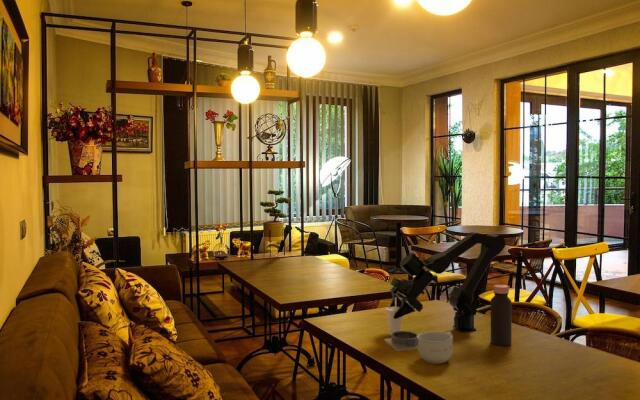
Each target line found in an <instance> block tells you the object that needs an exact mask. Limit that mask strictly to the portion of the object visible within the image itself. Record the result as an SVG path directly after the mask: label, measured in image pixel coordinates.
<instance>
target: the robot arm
mask: <svg viewBox="0 0 640 400" xmlns="http://www.w3.org/2000/svg"><path fill="white" fill-rule="evenodd" d="M478 244H480V253H479V255H478V257H477V258H476V260H475V262H474V264H472V267H471V268H470V270H469V272H468V274H466V275H467V276H466V277H465V279H464V281H463V282H462V284H461V285H459V286H453V288H452V290H451V291H450V293H449V294H448V295H449V298H448V302H449V305H450V306H451V307H452V309H453V311H455V312H454V317H453V325H452V327H453V329H455V330H456V331H457V330H458V331H460V332H463V333H464V332H471V331H477V328H475V316H476V315H477V312H478V309H477V308H476V307H475V306H474V305H473V301H474V292H475V289H477V286H478V284H479V283H480V281H481V280H482V278H483V276H484V274H485V272H486V271H487V269H488V267H489V265H490V264H491V262H492V260H493V259H494V258H496V257H497V256H499V254H501V253H502V251H503V250H504V249H505V247H506V246H507V245H506V239H505V238H504V237H503V236H502V235H500V234H499V235H498V234H493V233H488V234H481V233H479V232H476V231H470V232H469V233H468V234H467V235H466V236H464V237H463V238H461V239H460V240H459V241H457V242H456V243H455V244H453V245H451V246H450V247H448V248H447V249H446V250H443V251H441V252H438V253H435V254H433V255H430V256H428V258H427V259H422V260H421V259H420V258H419V257H418V256H417V254H415V253H414V252H410V254H408V255H406V256H405V257H403V258H402V259H401V261H400V262H399V266H400V267H401V268H402V269H403V270H404V271H405V272H406V273H407V274H408V275H409V276H410V277H413V276H414V277H413V278H412V280H410V279H408V280H407V279H405V278H402V279H399V278H398V277H395V276H394V277H393V278H392V279H391V283H390V286H392V287H391V289H390V292H391V295H392V300H391V302H390V305H389V307H395V297H397V307H400V308H399V309H398V310H397V312H396V313H395V315H394V316H393V318H394V319H397V318H399V317H403V316H407V315H409V314H411V313H415V312H418V313H421V311H422V310H423V308H424V307H423V306H424V304H423V303H421V301H419V300H418V298H419V297H420V295H425V290H426V289H427V288H428V286H429V285H430V284H431V283H434V284H439V279H438V278H439V277H438V275H439V274H440V275H441V274H443V273H444V272H445V271H446V270H447V269H449V267H451V264H452V262H453V261H455V260H456V259H457V258H459V257H460V256H461V255H463V254H464V253H466V252H467V251H469V250H470V249H471V248H473V247H474V246H476V245H478ZM425 269H427V270H425ZM433 273H436V274H438V275H436V274H433Z"/></svg>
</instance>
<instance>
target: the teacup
mask: <svg viewBox="0 0 640 400" xmlns="http://www.w3.org/2000/svg"><path fill="white" fill-rule="evenodd" d="M417 339H418V349H417V350H418V354H419V356H420V358H421V359H423V360H424V361H425V362H426V363H428V364H435V365H437V364H444V363H446V362H447V361H448V360H449V359H450V358H451V357H452V356H453V341H454V335H453V333H452V332H451V331H447V332H444V331H443V332H442V331H425V332H421V333H418V336H417Z"/></svg>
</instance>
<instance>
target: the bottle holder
mask: <svg viewBox="0 0 640 400" xmlns="http://www.w3.org/2000/svg"><path fill="white" fill-rule="evenodd" d="M418 335H419V333H417V332H414V331H410V330H408V331H407V330H400V331H397V332H394V333H392V335H390V336H391V337H390V338H384V339H383V341H384V343H386V344H387V345H389V346H390V347H391V348H392V349H393V350H395V351H396V352H405V351H406V352H407V351H413V350H418V339H417V336H418Z"/></svg>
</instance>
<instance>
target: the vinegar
mask: <svg viewBox="0 0 640 400" xmlns="http://www.w3.org/2000/svg"><path fill="white" fill-rule="evenodd" d="M509 290H510V288H509V285H507V284H494V285H493V294H494V296H493V297H491V298H490V343H491V344H493V345H495V346H502V347H507V346H510V345H512V323H513V322H512V316H513V315H512V313H513V312H512V311H513V310H512V309H513V307H512V300H511V298H510V297H509V296H508V295H509V292H510V291H509Z"/></svg>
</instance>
